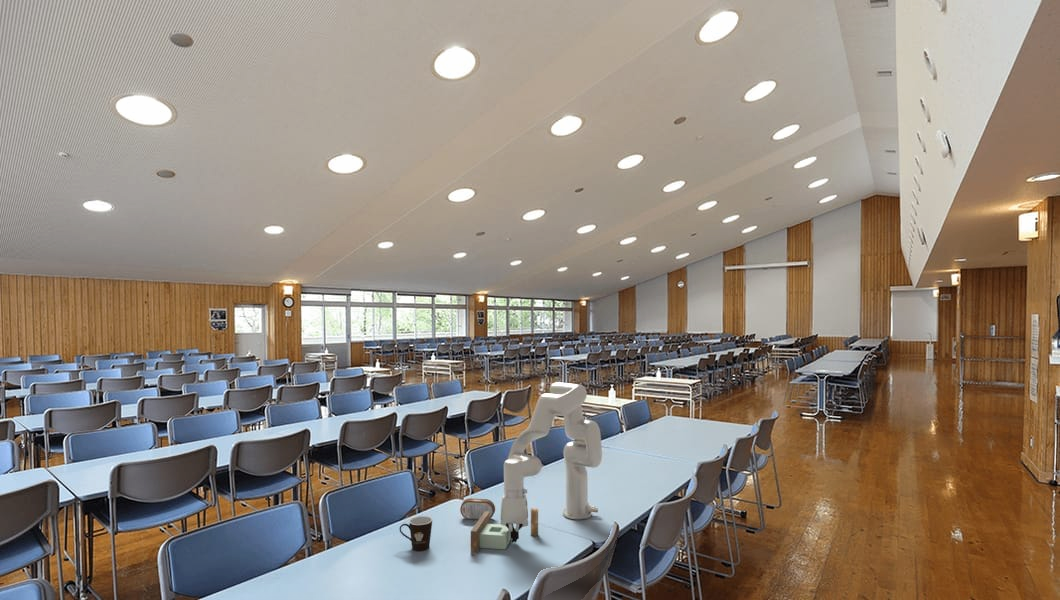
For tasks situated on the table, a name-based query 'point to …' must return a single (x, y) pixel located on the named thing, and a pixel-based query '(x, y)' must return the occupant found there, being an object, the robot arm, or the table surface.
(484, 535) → the block
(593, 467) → the robot arm
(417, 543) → the coffee mug
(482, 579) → the table surface
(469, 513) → the tin
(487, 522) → the wall
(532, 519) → the dowel
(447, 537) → the table surface
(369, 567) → the table surface
